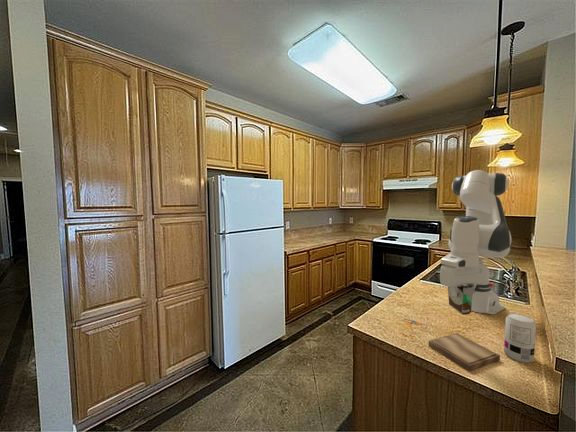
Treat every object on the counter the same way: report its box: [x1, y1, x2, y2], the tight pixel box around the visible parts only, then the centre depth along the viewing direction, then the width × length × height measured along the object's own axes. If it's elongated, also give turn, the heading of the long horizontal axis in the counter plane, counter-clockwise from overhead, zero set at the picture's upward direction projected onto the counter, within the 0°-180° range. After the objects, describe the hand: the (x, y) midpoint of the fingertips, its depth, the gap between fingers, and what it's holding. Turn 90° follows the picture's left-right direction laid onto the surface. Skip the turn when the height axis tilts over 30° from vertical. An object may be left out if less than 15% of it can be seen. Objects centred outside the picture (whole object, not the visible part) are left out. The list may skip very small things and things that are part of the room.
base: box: [428, 332, 501, 372], centre depth 95 cm, size 16×16×2 cm
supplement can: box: [503, 312, 537, 364], centre depth 92 cm, size 8×8×15 cm
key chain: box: [402, 318, 430, 333], centre depth 116 cm, size 13×7×1 cm, turn 45°
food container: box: [447, 284, 475, 315], centre depth 95 cm, size 12×6×10 cm, turn 173°
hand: (462, 295), depth 95 cm, fingers closed on food container, 6 cm apart
